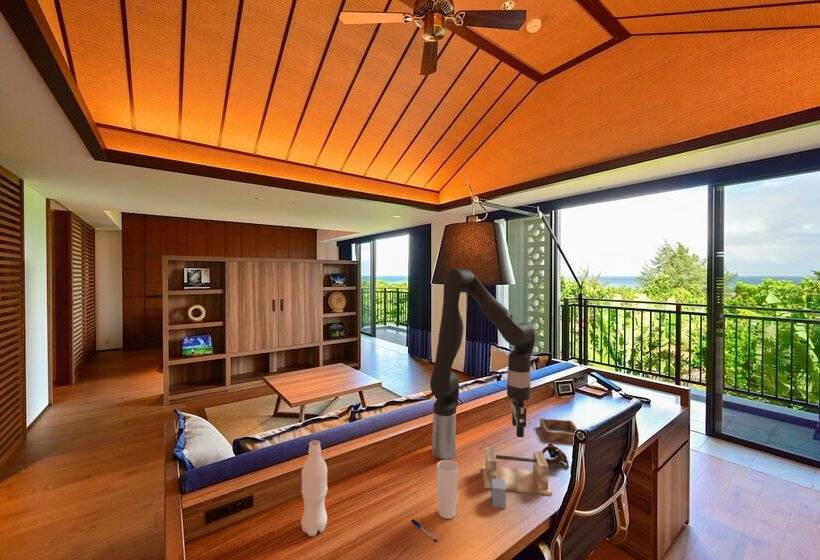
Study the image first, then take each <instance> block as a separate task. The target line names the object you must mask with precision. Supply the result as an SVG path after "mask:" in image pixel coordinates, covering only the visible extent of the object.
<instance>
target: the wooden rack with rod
mask: <svg viewBox="0 0 820 560" xmlns="http://www.w3.org/2000/svg"><path fill="white" fill-rule="evenodd" d="M495 450H496V448H495V446H485V465H482V477H483V485H484V486H483V487H484V489H491V490H492V479H502V480H504V481H505V486H506V491H511V492H518V493H519V492H520V493H529V494H539V495H545V496H546V495H548V496H552V495H553V492H552V489H551V487H550V486H551V485H550V484H549V472H550V471H549V466H548V464H547V461H546V459H547V458H546V457H545V453H544V454H543V452H542V450H533V455H532V456H533V457H524V456H511V455H500V454H499V455H498V454H496V451H495ZM545 458H546V459H545ZM498 460H504V461H505V460H506V461H517V462H527V463H532V470H530V469H519V468H510V467H500V466H499V467H498V466H497V463H498V462H497V461H498Z"/></svg>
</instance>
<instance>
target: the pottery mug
mask: <svg viewBox="0 0 820 560" xmlns="http://www.w3.org/2000/svg"><path fill="white" fill-rule="evenodd" d="M541 451H542V452H543V454H544V455H545V453H546V452H548V454H549V457H550V459H549V458H546V457H545V459H546V461H547V464H548V466H549V467H550V468H551V467H555V466H558V467H561V463H563V464H566V466H567V467H566V468H567V469H569V468H570V465H569V461H568V458H567V457H568V456H567V455H566V454H565V452H564V451H563V450H562V449H560V448H559V447H558V446H555V445H554V443H552V442H551V443H548V445H547V446H545V447H544V448H543V449H542V450H541Z"/></svg>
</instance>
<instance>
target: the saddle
mask: <svg viewBox="0 0 820 560" xmlns="http://www.w3.org/2000/svg"><path fill="white" fill-rule="evenodd" d="M490 494H491V497H490V498H491V501H492V502H491V504H492V505H491V506H492V507H491V508H497V509H506V507H507V502H506V501H507V490H506V486H505V481H504V480H502V479H492V489H491V493H490Z"/></svg>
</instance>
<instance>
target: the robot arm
mask: <svg viewBox="0 0 820 560" xmlns="http://www.w3.org/2000/svg"><path fill="white" fill-rule="evenodd" d="M443 281H444V282H443V297H442V299H443V300H442V301H443V302H442V309H441V310H442V311H441V319H440V325H439V331H438V332H439V333H438V339H437V347H436V352H435V353H436V355H435V361H434V365H433V369H432V373H431V377H430V383H429V386H430V387H429V388H430V391H431V393H432V395H433V396H435V397H436V399H435V402H434V403H433V404H432V405H433V407H432V409H433V411H432V434H431V436H432V437H431V456H432V457H435V458H437V459H439V460H451V459H453V458H454V457H456V448H457V447H456V446H457V445H456V442H457V441H456V440H457V439H456V438H457V437H456V436H457V431H456V429H457V408H458V405H459V398H460V397H459V395H460V383H459V382H460V381H459V378H458V375H457V374H456V373H455V372H454V371H452V368H453V364H454V361H455V359H456V357H457V355H458V353H459V351H460V348H461V346H462V342H463V334H464V322H463V319H462V315H461V312H460V306H459V304H460V297H461V293H463V294H464V293H465V294H467V295H469V296H471V297H472V298H473V299H474V300H475V301H476V303H477V305H478V307H479V309H480V311H481V312H482V314H483V315H484V316H485V317H486V318H487V319H488V320H489V321H490V322H491V324H493V325H494V326H495V327H496V329H497V331H499V333H500V335H501V336H502V338H503V339H504V340H505V342H507V343H509V344H510V345H512V346H514V348H513V350H512V351H510V353H508V354H509V355H508V366H507V367H508V368H507V375H506V377H507V378H506V380H507V381H506V396H507V397H508V398H510V411H511V425H512V426H514V427H516V429H515V430H516V437H517V438H524V436H525V428H526V427H527V408H526V404H525V403H524V402H525V401H529V400H530V398H531V385H532V383H531V382H532V378H531V357H532V354H533V350H534V346H535V343H536V333H535V329H534V328H533V326H532V325H531V324H530V323H527V322H520V323H517V322H514V320H513V313H512V312H511V311H510V310H509V309H508V308H507V307H505V306H504V305H503V304H502V303H501V302H499V300H497V299H496V298H495V297H494V296H493V295H492V294H491V293H490V292H489V291H488V290H487V288H486V287H485V286H484V285H483V284H482V283H481V281H480V280H479V279H478V278H477V276H476V275H475V274H474V273H473V272H472V271H471V270H469V269H466V268H463V269H462V268H451V269H449V270H448V271H447V272H446V274H445V276H444V280H443Z"/></svg>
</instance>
